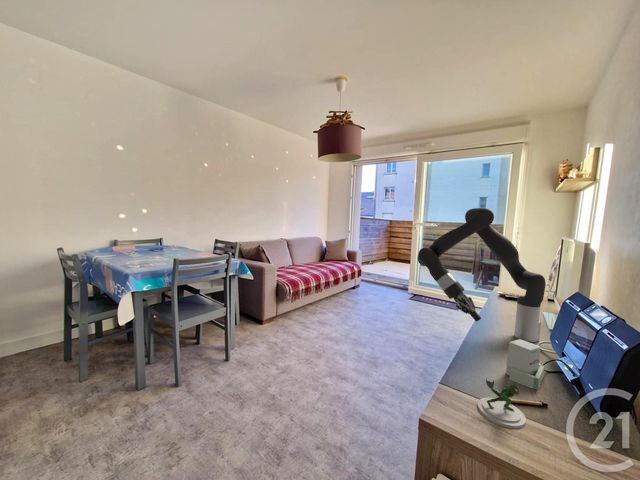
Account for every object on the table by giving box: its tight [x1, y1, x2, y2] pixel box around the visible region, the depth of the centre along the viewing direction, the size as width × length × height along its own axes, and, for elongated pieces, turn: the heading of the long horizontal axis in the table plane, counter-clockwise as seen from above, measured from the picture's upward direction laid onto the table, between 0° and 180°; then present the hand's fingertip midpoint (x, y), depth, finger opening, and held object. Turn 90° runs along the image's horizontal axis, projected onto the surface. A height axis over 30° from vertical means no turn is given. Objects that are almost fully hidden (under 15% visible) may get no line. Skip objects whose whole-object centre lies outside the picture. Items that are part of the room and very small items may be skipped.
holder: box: [508, 363, 546, 391], centre depth 101 cm, size 8×13×4 cm, turn 134°
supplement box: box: [505, 338, 542, 376], centre depth 102 cm, size 7×7×13 cm
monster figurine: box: [477, 378, 527, 429], centre depth 82 cm, size 12×12×10 cm
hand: (478, 320), depth 114 cm, fingers closed
